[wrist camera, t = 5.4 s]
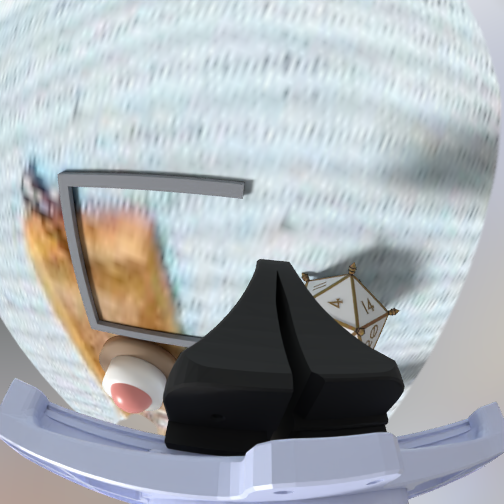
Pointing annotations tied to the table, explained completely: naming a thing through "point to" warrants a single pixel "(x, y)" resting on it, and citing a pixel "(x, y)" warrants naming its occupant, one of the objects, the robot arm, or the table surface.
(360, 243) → the table surface
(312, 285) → the game die
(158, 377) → the dome
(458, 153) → the table surface
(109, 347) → the dome base
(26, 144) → the table surface
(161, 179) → the frame
